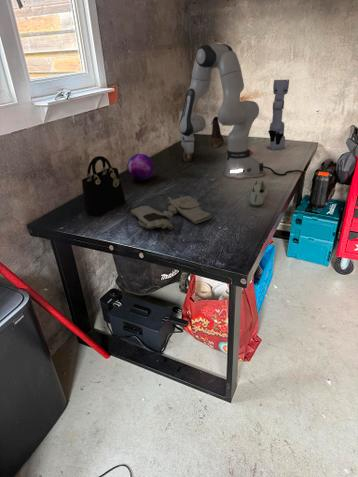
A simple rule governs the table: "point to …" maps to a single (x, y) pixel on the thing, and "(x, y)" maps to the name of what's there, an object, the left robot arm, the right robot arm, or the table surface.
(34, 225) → the table surface
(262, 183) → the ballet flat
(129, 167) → the decorative orb
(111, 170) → the handbag
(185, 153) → the brick
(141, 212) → the pair of gloves
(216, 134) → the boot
